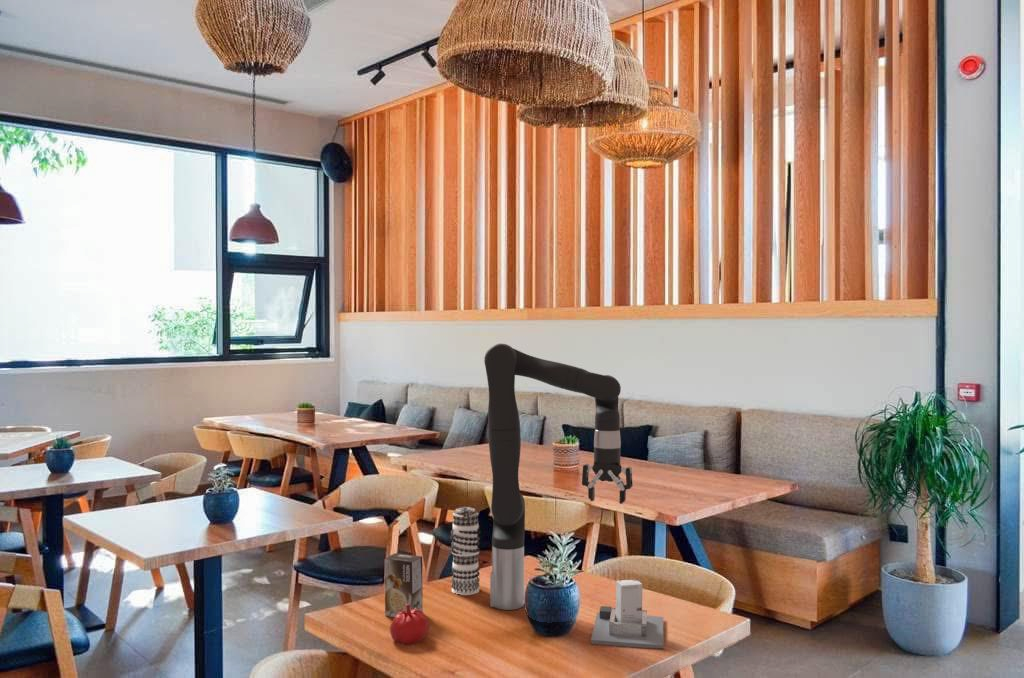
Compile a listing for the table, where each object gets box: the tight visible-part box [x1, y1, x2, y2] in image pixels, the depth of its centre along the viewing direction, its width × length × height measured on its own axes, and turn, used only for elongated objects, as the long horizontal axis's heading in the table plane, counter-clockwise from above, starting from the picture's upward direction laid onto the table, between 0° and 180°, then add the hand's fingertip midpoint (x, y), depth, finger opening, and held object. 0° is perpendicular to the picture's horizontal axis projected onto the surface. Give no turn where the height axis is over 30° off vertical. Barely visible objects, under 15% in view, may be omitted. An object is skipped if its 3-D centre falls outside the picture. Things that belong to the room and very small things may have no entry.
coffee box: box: [384, 552, 424, 618], centre depth 227 cm, size 9×6×16 cm
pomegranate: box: [389, 604, 430, 646], centre depth 209 cm, size 10×10×9 cm
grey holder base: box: [590, 605, 664, 649], centre depth 214 cm, size 18×20×3 cm
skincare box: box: [615, 579, 643, 624], centre depth 214 cm, size 6×4×12 cm
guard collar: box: [609, 607, 648, 637], centre depth 214 cm, size 9×11×3 cm
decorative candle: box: [450, 506, 481, 596], centre depth 247 cm, size 9×9×25 cm
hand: (606, 502), depth 233 cm, fingers open, 8 cm apart
